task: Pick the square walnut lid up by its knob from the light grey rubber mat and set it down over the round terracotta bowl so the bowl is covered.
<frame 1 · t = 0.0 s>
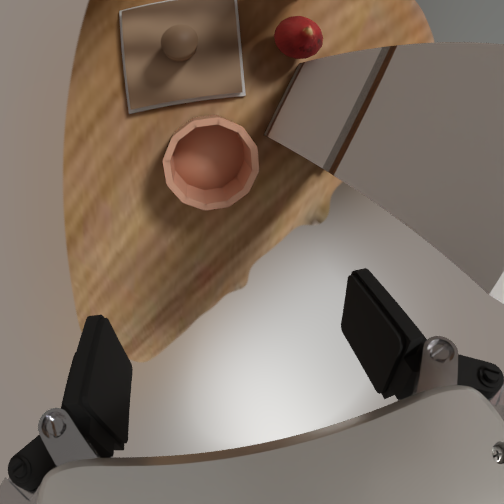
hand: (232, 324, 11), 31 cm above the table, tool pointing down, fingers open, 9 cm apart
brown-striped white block: (314, 115, 37), on the table
bowl: (208, 155, 38), on the table
lid: (180, 48, 29), resting on mat
onion: (288, 42, 32), on the table
mat: (181, 48, 30), on the table
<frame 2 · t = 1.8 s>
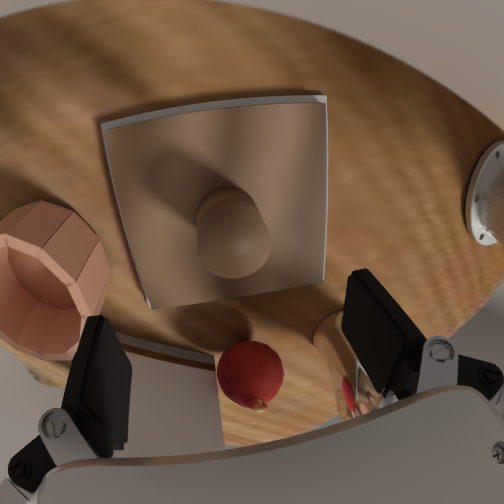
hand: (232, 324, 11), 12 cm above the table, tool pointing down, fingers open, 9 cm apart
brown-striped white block: (148, 372, 29), on the table
beer glass: (338, 329, 30), on the table
bowl: (52, 261, 20), on the table
lid: (226, 209, 21), resting on mat
onion: (243, 341, 28), on the table
mat: (225, 207, 21), on the table
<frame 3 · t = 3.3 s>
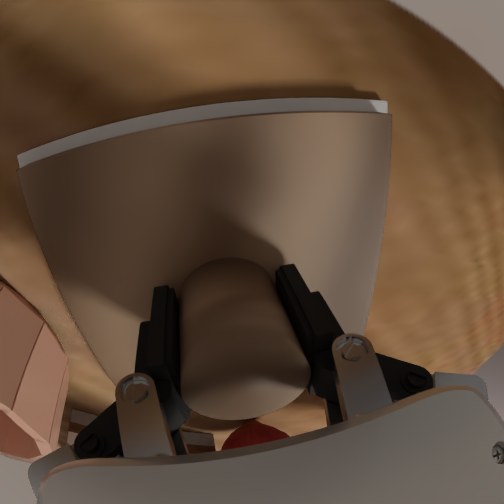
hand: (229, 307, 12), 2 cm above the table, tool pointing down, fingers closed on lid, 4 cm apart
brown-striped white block: (135, 446, 21), on the table
lid: (224, 285, 13), resting on mat, touching gripper
onion: (249, 419, 21), on the table
mat: (223, 280, 13), on the table
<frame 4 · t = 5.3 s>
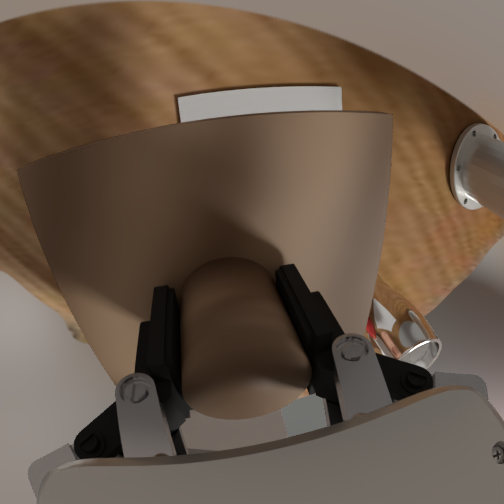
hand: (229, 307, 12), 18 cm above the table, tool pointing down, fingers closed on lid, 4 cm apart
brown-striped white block: (189, 318, 35), on the table
beer glass: (351, 276, 36), on the table
lid: (225, 285, 13), point 16 cm above the table, touching gripper
mat: (268, 165, 27), on the table
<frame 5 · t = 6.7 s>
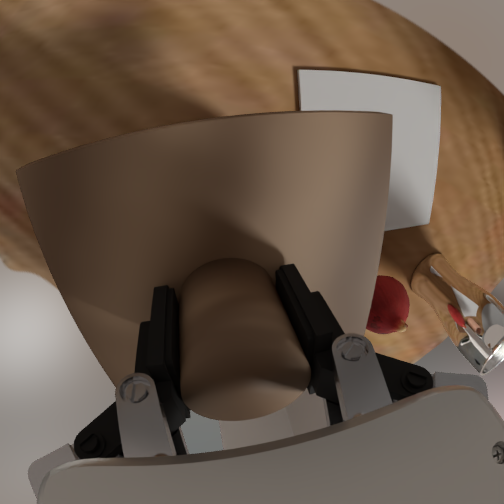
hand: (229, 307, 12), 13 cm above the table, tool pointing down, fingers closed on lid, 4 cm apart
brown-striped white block: (271, 323, 31), on the table
beer glass: (427, 272, 33), on the table
lid: (224, 285, 13), point 12 cm above the table, touching gripper
onion: (364, 282, 31), on the table
mat: (378, 156, 24), on the table
when the fingers open (9 cm above the table, at t = 7.7 s): lid drops 1 cm, resting on bowl.
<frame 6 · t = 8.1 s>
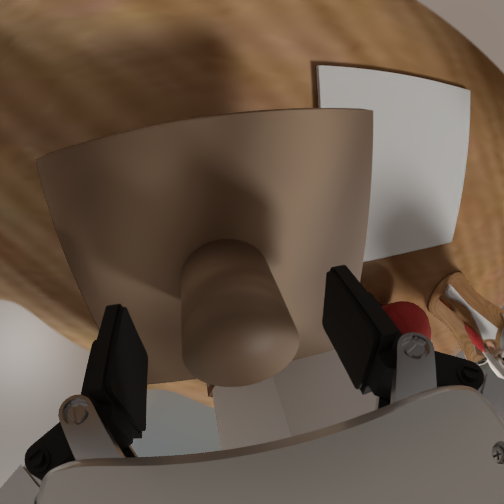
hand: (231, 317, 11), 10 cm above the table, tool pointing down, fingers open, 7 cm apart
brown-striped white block: (279, 353, 28), on the table
beer glass: (445, 292, 29), on the table
lid: (223, 266, 14), point 6 cm above the table, touching bowl
onion: (381, 307, 28), on the table
mat: (405, 169, 20), on the table
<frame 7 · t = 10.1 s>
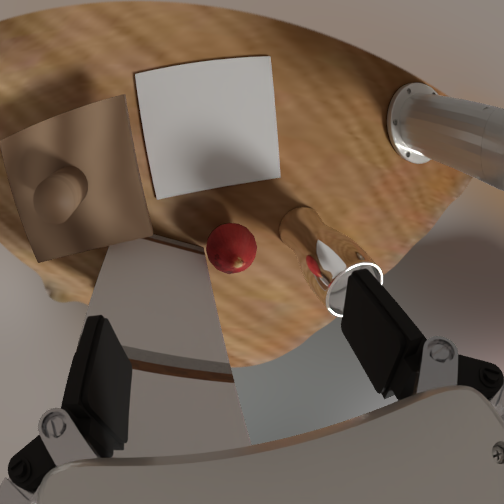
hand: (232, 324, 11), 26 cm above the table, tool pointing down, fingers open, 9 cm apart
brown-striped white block: (150, 270, 38), on the table
beer glass: (299, 226, 40), on the table
lid: (72, 183, 24), point 6 cm above the table, touching bowl
onion: (225, 234, 38), on the table
mat: (210, 124, 31), on the table
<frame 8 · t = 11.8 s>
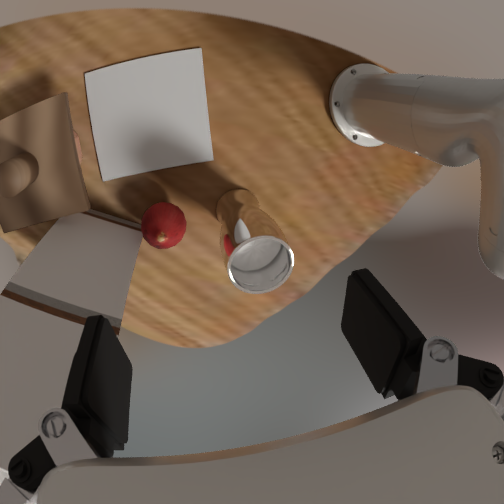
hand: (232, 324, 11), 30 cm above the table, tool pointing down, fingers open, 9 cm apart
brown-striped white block: (101, 246, 40), on the table
beer glass: (237, 208, 41), on the table
lid: (29, 166, 26), point 6 cm above the table, touching bowl
onion: (165, 213, 40), on the table
mat: (147, 113, 32), on the table
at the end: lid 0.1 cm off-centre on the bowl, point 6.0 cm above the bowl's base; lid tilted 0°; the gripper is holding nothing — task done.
